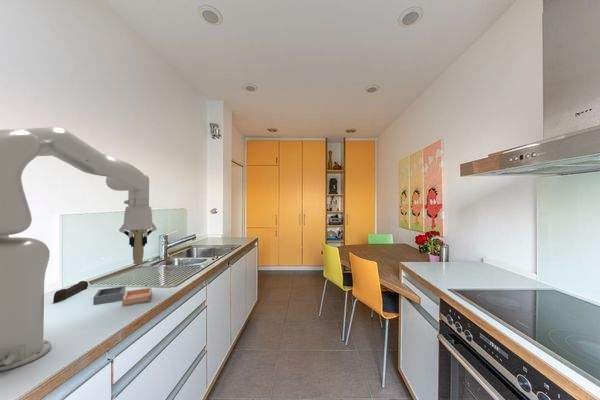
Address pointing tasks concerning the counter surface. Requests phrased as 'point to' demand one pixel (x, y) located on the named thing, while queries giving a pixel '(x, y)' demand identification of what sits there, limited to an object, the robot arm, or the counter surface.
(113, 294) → the collar
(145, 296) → the tray
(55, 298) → the hand tool
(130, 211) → the robot arm
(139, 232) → the handle
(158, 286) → the counter surface
